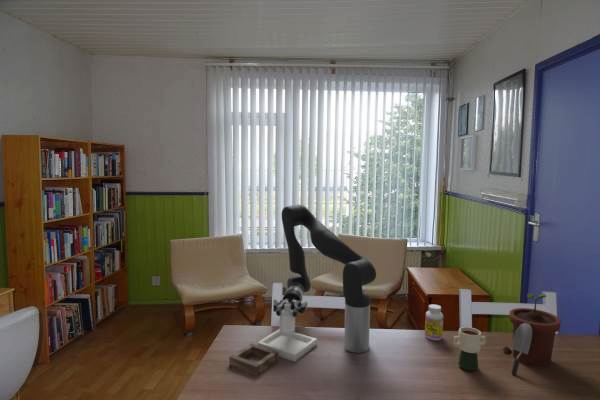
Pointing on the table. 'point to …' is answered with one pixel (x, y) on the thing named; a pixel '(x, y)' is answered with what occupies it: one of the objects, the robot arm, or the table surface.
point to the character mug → (469, 347)
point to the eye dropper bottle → (287, 319)
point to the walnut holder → (249, 366)
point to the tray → (288, 344)
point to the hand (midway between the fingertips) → (286, 314)
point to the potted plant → (532, 336)
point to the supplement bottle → (434, 323)
